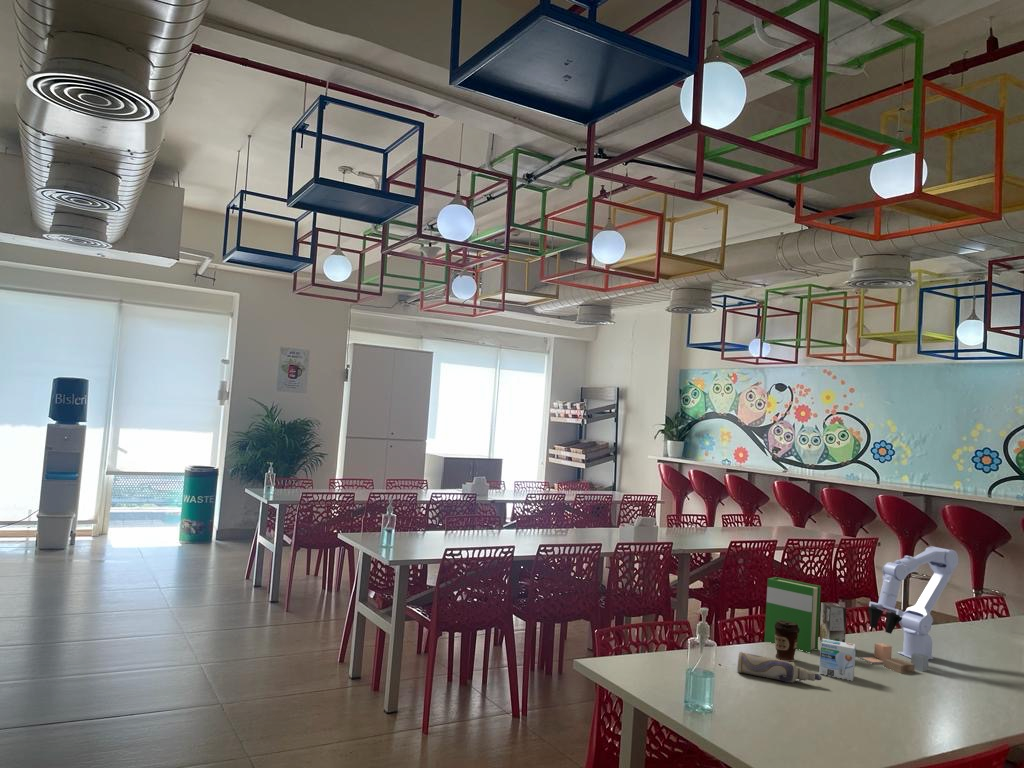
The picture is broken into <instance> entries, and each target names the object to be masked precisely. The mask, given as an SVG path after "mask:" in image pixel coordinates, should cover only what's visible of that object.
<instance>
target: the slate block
mask: <svg viewBox="0 0 1024 768" xmlns="http://www.w3.org/2000/svg"><path fill="white" fill-rule="evenodd" d="M910 663H912V664H915V670H916V671H919V672H926V671H928V670H929V659H928V656H927V655H923V654H920V653H914V654H911V658H910Z"/></svg>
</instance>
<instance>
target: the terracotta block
mask: <svg viewBox="0 0 1024 768" xmlns="http://www.w3.org/2000/svg"><path fill="white" fill-rule="evenodd" d="M892 648H893V647H892V645H889V644H886V643H883V642H882V643H881V642H880V643H879V642H875V643H874V654H873V657H874V656H875V658H876V657H877V659H878V658H880V659H879V660H881V659H882V661H883V659H892V652H893V651H892Z"/></svg>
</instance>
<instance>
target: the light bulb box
mask: <svg viewBox="0 0 1024 768" xmlns="http://www.w3.org/2000/svg"><path fill="white" fill-rule="evenodd" d="M819 653H820V654H819V666H818V667H819V670H818V671H819V673H818V674H819V675H821V674H824V675H823V676H826V675H828V676H827V677H831V676H832V678H835V677H837V678H836V679H840V678H842V679H841V680H844V679H847V680H846V681H849V680H851V681H850V682H853V681H854V678H855V666H856V665H855V663H856V644H855V643H849V642H846V641H845V642H840V641H834V640H829V639H824V638H823V639H822V642H821V644H820V652H819Z"/></svg>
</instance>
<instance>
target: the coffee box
mask: <svg viewBox="0 0 1024 768" xmlns="http://www.w3.org/2000/svg"><path fill="white" fill-rule="evenodd" d="M846 624H847V607H845V606H843V605H841V604H840V603H837V602H821V601H820V619H819V644H820V643H821V642H822V639H823V638H824V639H829V640H834V641H840V642H845V643H846V627H847V625H846Z"/></svg>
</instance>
